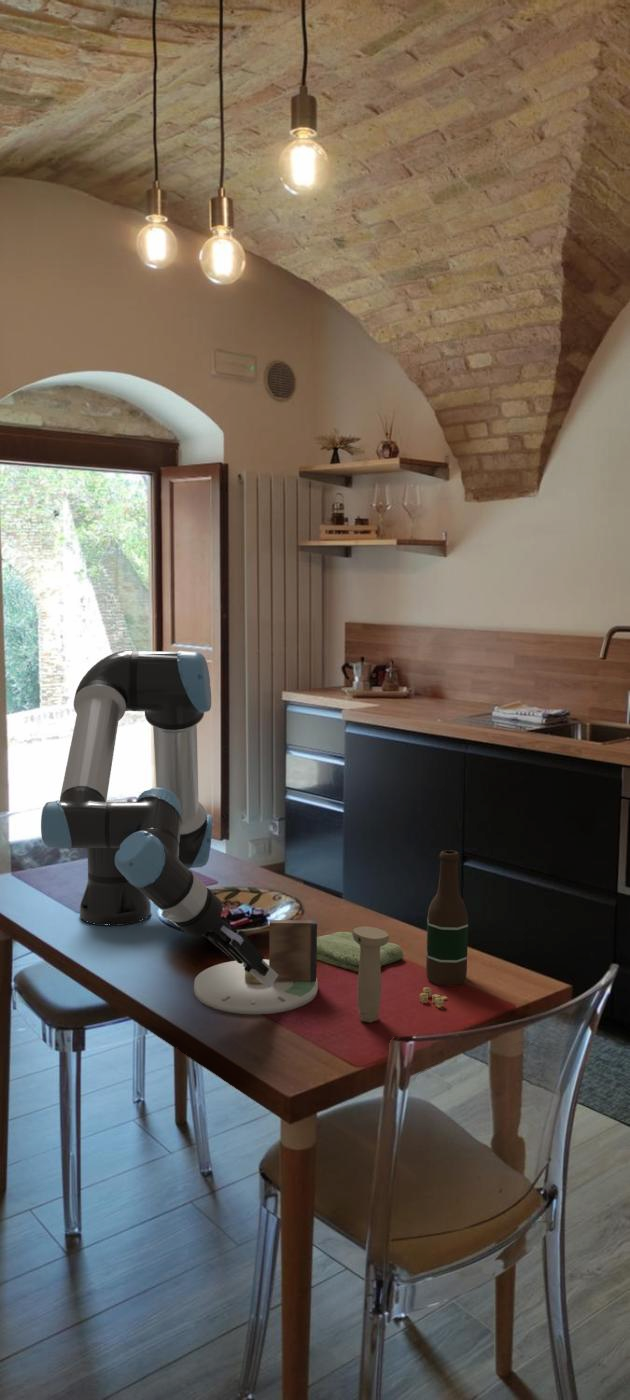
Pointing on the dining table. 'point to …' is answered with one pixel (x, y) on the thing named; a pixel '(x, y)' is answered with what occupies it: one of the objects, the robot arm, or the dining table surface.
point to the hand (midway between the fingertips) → (271, 980)
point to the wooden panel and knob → (291, 950)
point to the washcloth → (351, 951)
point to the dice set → (435, 997)
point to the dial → (249, 991)
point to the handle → (369, 971)
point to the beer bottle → (447, 927)
